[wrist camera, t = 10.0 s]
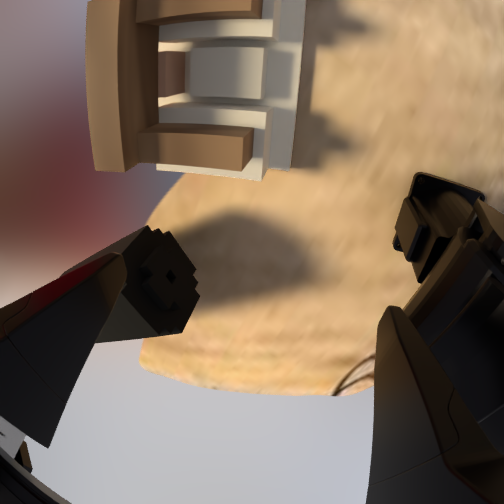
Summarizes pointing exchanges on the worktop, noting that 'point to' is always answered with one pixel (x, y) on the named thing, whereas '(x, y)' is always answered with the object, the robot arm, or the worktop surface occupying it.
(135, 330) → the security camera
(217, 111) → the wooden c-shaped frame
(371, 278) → the worktop surface
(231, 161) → the wooden c-shaped bracket
